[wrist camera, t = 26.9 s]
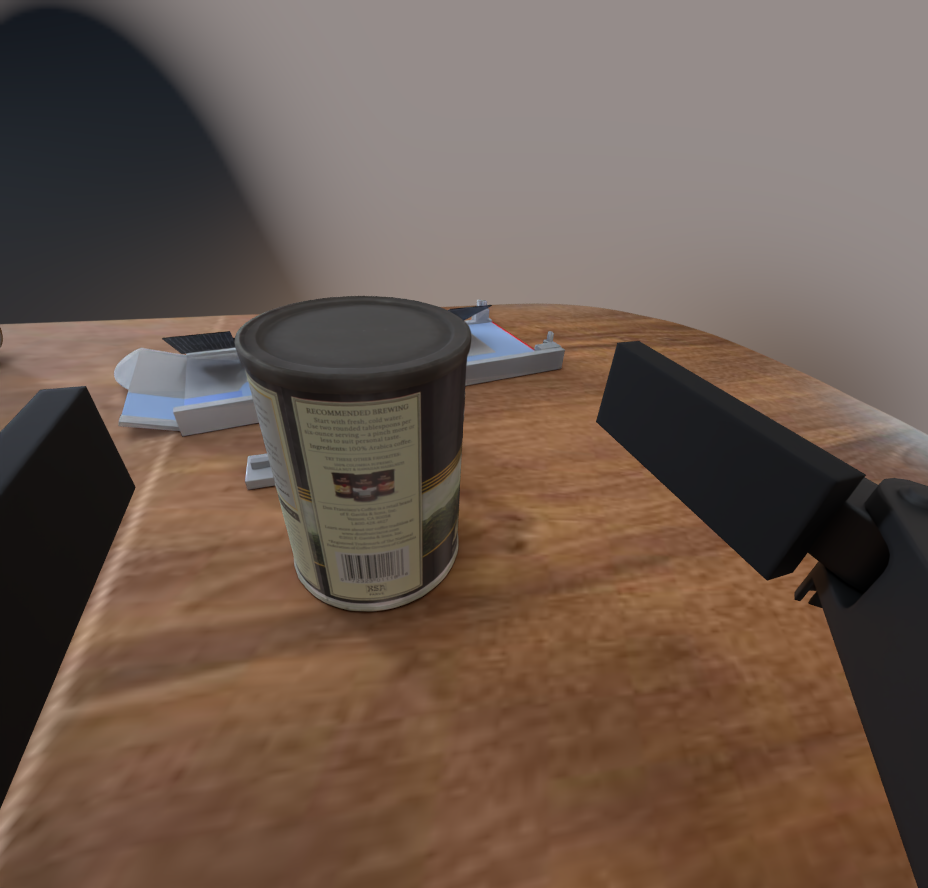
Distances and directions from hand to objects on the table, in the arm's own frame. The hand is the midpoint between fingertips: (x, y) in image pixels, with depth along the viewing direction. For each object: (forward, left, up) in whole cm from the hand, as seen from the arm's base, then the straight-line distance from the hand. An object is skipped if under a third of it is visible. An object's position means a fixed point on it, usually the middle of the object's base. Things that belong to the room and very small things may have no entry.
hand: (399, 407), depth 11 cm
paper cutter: (+34, +13, -15) cm, 40 cm away
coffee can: (+9, +4, -15) cm, 18 cm away
